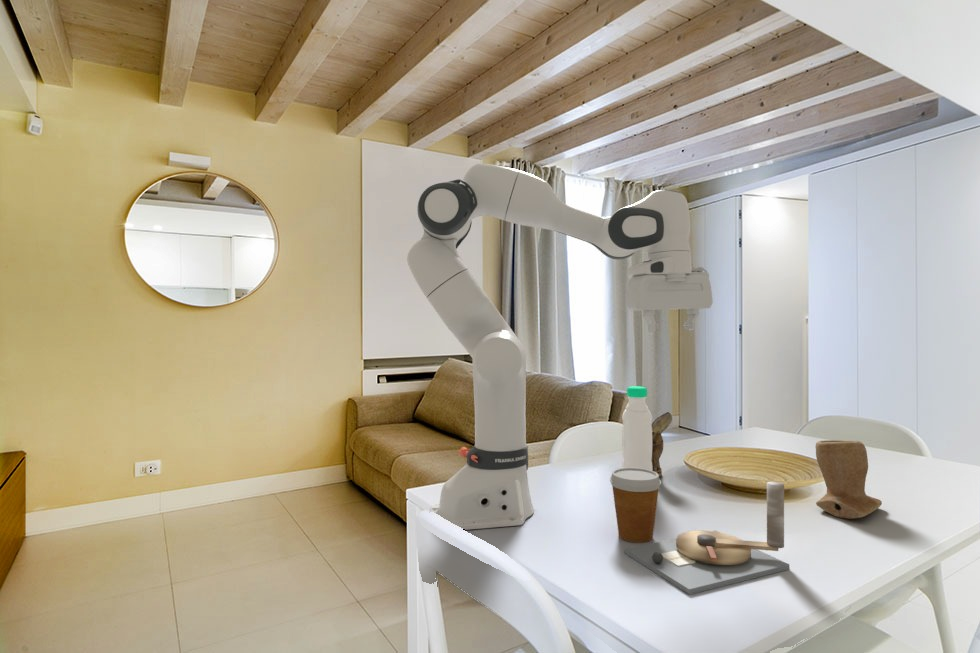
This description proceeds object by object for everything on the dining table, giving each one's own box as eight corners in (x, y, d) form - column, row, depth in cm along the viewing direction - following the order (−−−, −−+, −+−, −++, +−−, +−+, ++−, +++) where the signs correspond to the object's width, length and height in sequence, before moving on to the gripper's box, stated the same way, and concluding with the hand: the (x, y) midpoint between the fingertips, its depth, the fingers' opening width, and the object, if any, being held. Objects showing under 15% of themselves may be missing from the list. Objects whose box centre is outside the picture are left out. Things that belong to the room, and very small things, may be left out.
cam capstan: (681, 564, 90) (681, 491, 90) (672, 533, 103) (672, 469, 103) (797, 574, 86) (797, 498, 86) (773, 541, 99) (773, 474, 99)
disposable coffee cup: (603, 527, 110) (603, 467, 110) (650, 525, 110) (650, 466, 110) (619, 547, 100) (618, 481, 100) (669, 545, 101) (669, 480, 101)
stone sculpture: (655, 486, 137) (654, 413, 136) (619, 472, 149) (618, 406, 148) (681, 481, 141) (681, 410, 140) (644, 468, 153) (644, 403, 152)
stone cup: (827, 495, 128) (827, 431, 128) (888, 509, 119) (888, 439, 119) (799, 510, 119) (799, 440, 119) (863, 526, 109) (863, 450, 109)
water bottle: (649, 486, 137) (649, 385, 136) (655, 495, 130) (654, 388, 129) (620, 485, 137) (619, 385, 137) (624, 494, 130) (624, 388, 130)
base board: (689, 594, 83) (689, 577, 83) (624, 553, 98) (624, 538, 98) (789, 569, 91) (789, 553, 91) (715, 534, 106) (715, 521, 106)
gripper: (697, 268, 126) (699, 329, 126) (621, 268, 118) (623, 332, 118) (718, 265, 120) (720, 329, 120) (639, 265, 112) (641, 333, 112)
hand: (671, 331), depth 119 cm, fingers open, 8 cm apart
